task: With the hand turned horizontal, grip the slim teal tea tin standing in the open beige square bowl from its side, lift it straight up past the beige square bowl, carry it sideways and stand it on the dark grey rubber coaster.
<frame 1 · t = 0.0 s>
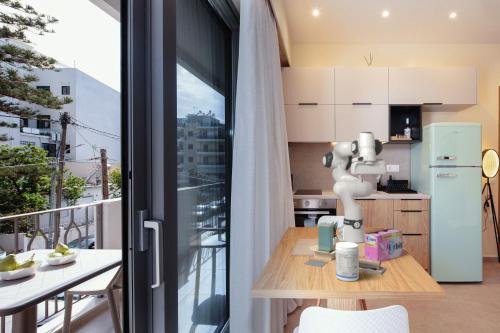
hand: (369, 182, 187), 39 cm above the table, tool pointing down, fingers open, 8 cm apart
supplement tub: (347, 278, 139), on the table
grey layered block: (363, 269, 152), on the table
gum box: (384, 257, 170), on the table
coaster: (315, 264, 159), on the table
tea tin: (325, 256, 170), point 1 cm above the table, touching beige square bowl
beige square bowl: (325, 258, 170), on the table
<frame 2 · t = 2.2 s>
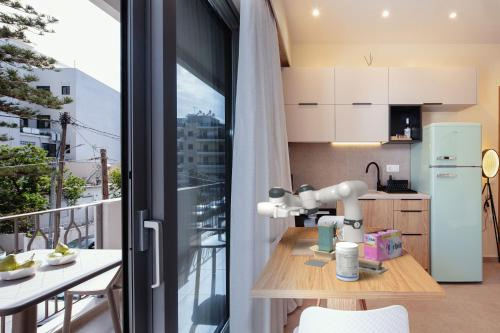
hand: (303, 212, 177), 23 cm above the table, tool horizontal, fingers open, 8 cm apart
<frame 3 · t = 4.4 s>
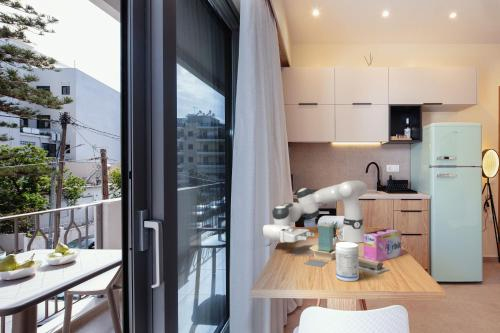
hand: (310, 236, 174), 10 cm above the table, tool horizontal, fingers open, 8 cm apart
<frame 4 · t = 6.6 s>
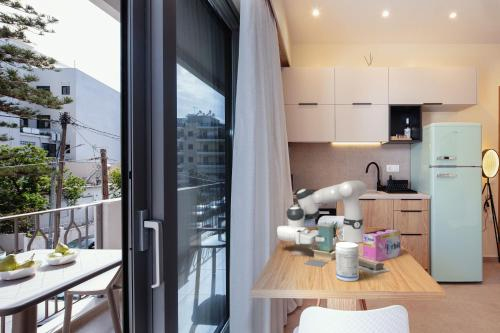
hand: (327, 238, 169), 11 cm above the table, tool horizontal, fingers closed on tea tin, 5 cm apart
tea tin: (325, 256, 170), point 1 cm above the table, touching beige square bowl, gripper
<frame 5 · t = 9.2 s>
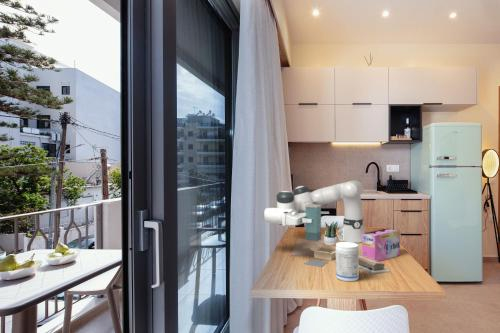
hand: (314, 219, 161), 22 cm above the table, tool horizontal, fingers closed on tea tin, 5 cm apart
tea tin: (313, 239, 162), point 12 cm above the table, touching gripper
when the fingers open (12 cm above the table, at t = 11.7 s): tea tin drops 1 cm, resting on coaster.
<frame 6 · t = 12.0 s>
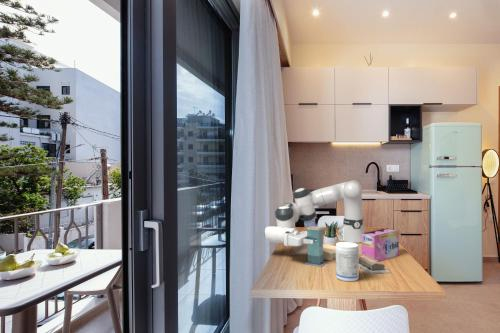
hand: (317, 239, 158), 12 cm above the table, tool horizontal, fingers open, 8 cm apart
tea tin: (315, 262, 159), point 1 cm above the table, touching coaster
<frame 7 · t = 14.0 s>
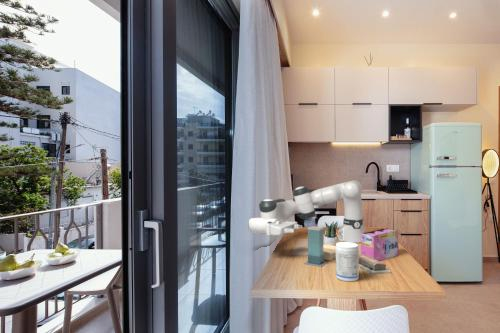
hand: (298, 228, 166), 16 cm above the table, tool horizontal, fingers open, 8 cm apart
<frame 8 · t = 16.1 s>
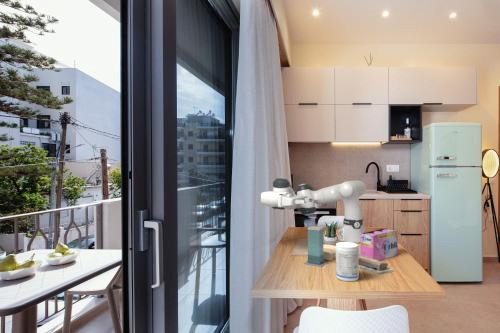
hand: (308, 201, 171), 30 cm above the table, tool horizontal, fingers open, 8 cm apart
at the end: tea tin inside the target area on the coaster (0.1 cm from its centre), point 0.8 cm above the coaster's base; tea tin tilted 0°; tea tin touching coaster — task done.
